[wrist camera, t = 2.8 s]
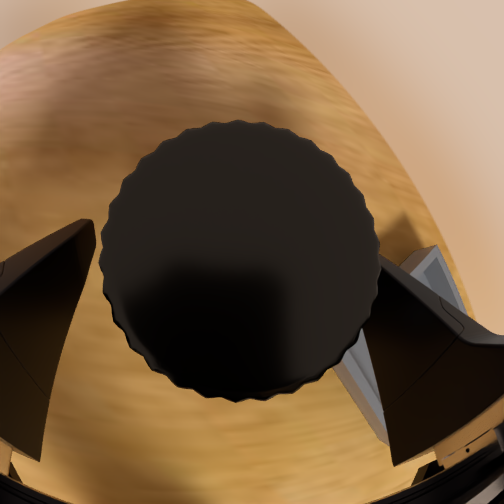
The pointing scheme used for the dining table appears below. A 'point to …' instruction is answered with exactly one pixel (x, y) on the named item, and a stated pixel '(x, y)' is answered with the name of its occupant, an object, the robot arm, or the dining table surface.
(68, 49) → the dining table surface
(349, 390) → the holder tray
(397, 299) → the robot arm
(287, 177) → the supplement bottle
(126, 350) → the dining table surface
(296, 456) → the dining table surface
